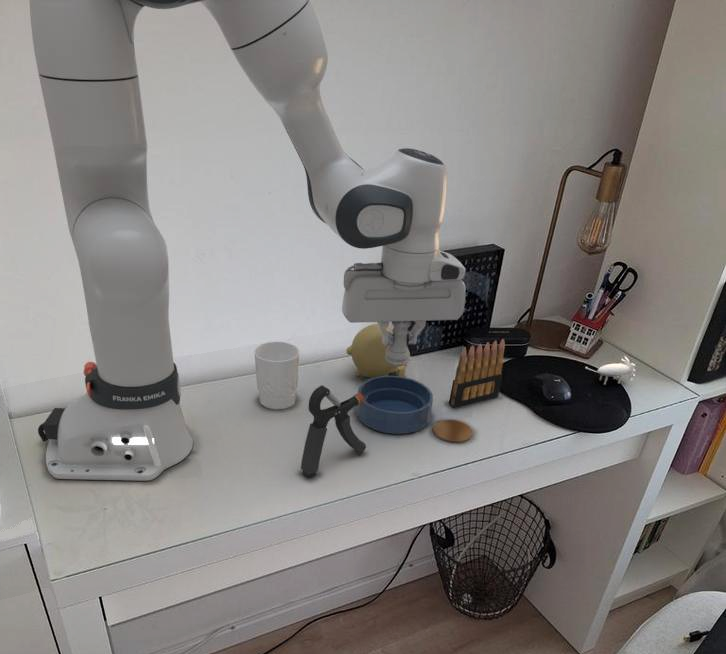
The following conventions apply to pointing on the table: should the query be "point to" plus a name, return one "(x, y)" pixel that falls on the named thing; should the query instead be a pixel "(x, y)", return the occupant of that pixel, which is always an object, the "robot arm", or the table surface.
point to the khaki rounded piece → (372, 354)
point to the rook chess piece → (398, 345)
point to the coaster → (452, 431)
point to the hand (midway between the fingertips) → (399, 343)
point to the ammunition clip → (477, 375)
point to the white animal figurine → (616, 370)
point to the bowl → (394, 404)
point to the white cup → (277, 374)
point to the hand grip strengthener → (320, 423)
